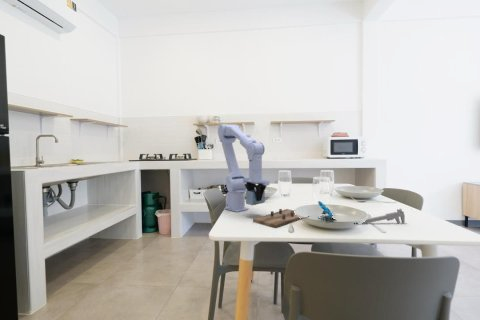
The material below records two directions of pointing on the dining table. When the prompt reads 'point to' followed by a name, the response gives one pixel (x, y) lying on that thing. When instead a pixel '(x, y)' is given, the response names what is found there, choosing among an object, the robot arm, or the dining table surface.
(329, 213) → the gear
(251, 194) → the block
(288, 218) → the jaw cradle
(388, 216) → the caliper
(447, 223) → the dining table surface
